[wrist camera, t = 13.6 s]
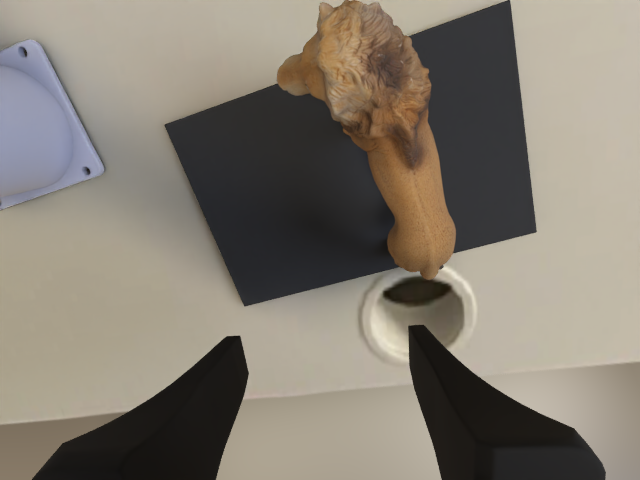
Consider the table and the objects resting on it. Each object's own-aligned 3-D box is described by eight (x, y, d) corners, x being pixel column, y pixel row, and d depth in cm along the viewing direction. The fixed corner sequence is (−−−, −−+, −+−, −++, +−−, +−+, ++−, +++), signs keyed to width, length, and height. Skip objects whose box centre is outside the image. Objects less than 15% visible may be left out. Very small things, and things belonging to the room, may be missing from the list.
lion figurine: (287, 74, 19) (243, 41, 11) (372, 16, 18) (399, -73, 9) (403, 281, 23) (439, 377, 14) (479, 244, 22) (567, 326, 13)
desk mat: (245, 303, 25) (244, 306, 24) (167, 124, 21) (163, 124, 20) (533, 230, 22) (537, 232, 21) (506, 1, 18) (510, -1, 17)
